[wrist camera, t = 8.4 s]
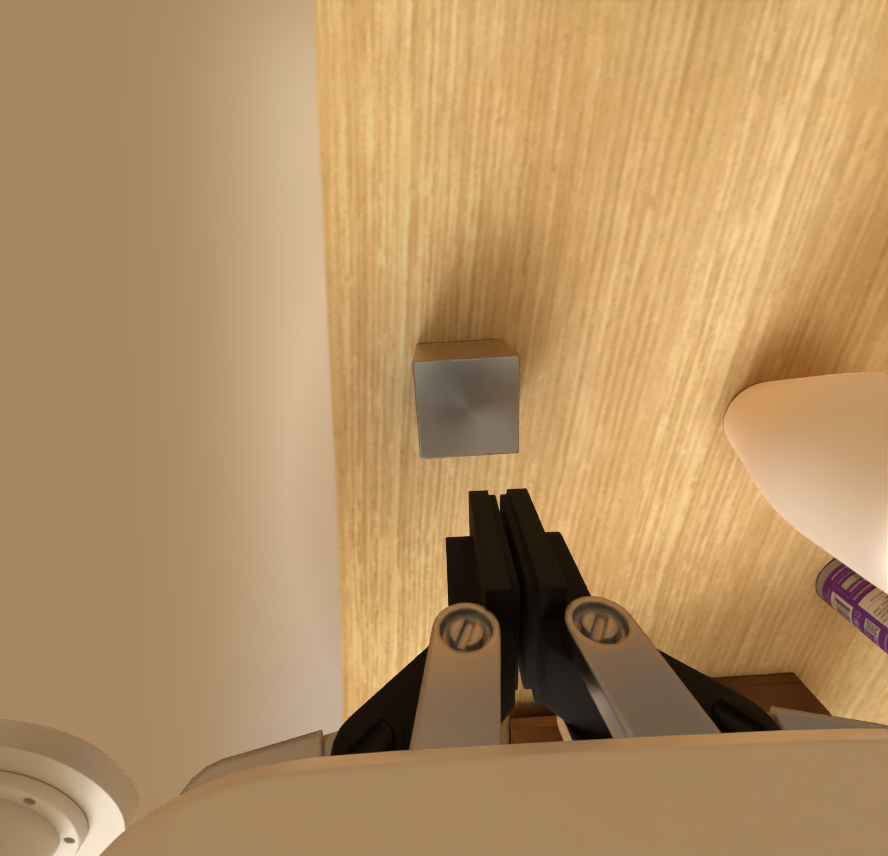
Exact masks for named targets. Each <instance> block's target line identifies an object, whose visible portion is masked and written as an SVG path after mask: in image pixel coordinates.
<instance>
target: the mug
mask: <svg viewBox="0 0 888 856" xmlns="http://www.w3.org/2000/svg"><path fill="white" fill-rule="evenodd" d="M724 432H725V435H726V437H727V439H728V440H729V442H730V444H731V445H732V447H733V449H734V450H735V452H736V454H737V455H738V457H739V459H740V460H741V462H742V464H743V465H744V467H745V469H746V470H747V472H748V474H749V475H750V477H751V479H752V480H753V482H754V483H755V485H756V487H757V488H758V490H759V491H760V492H761V494H762V495H763V496H764V498H765V499H766V500H767V502H768V503H769V504H770V505H771V506H772V507H773V508H774V510H775V511H776V512H777V513H778V514H779V515H780V516H781V517H782V518H783V519H785V520H786V521H787V522H788V523H789V524H790V525H791V526H793V527H794V528H795V529H796V530H798V531H799V532H800V533H801V534H803V535H804V536H805V537H807V538H808V539H810V540H811V541H812V542H814V543H815V544H816V545H818V546H819V547H821V548H822V549H824V550H825V551H826V552H828V553H829V554H831V555H832V556H833V557H835V558H836V559H838V560H839V561H840V562H842V563H843V564H845V565H846V566H848V567H849V568H850V569H852V570H853V571H855V572H856V573H857V574H859V575H860V576H862V577H863V578H864V579H866V580H867V581H869V582H870V583H872V584H873V585H875V586H876V587H877V588H879V589H880V590H882V591H884V592H885V593H887V594H888V372H854V373H840V374H830V375H821V376H812V377H803V378H794V379H785V380H776V381H768V382H762V383H758V384H755V385H753V386H750V387H749V388H747V389H745V390H744V391H742V392H741V393H740V394H739V395H738V396H737V397H736V398H735V399H734V400H733V401H732V402H731V404H730V405H729V407H728V409H727V411H726V414H725V417H724Z"/></svg>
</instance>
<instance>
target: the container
mask: <svg viewBox="0 0 888 856" xmlns="http://www.w3.org/2000/svg"><path fill="white" fill-rule="evenodd" d="M816 589H817V593H818V595H819V596H820V597H821V598H822V599H823V600H824V601H826V602H827V603H828V604H829V605H830V606H831V607H832V608H834V609H835V610H836V611H837V612H838V613H840V614H841V615H842V616H843V617H844V618H846V619H847V620H848V621H849V622H850V623H852V624H853V625H854V626H855V627H856V628H857V629H859V630H860V631H861V632H862V633H863V634H865V635H866V636H867V637H868V638H869V639H871V640H872V641H873V642H874V643H875V644H877V645H878V646H879V647H880V648H881V649H882V650H884V651H885V652H886V653H887V654H888V594H887V593H885V592H884V591H882V590H880V589H879V588H877V587H876V586H875V585H873V584H872V583H870V582H869V581H867V580H866V579H864V578H863V577H862V576H860V575H859V574H857V573H856V572H855V571H853V570H852V569H850V568H849V567H848V566H846V565H845V564H843V563H842V562H840V561H839V560H838V559H835V560H833V561H832V562H831V563H829V564H828V565H827V566H826V567H825V568H824V569H823V571H822V572H821V573H820V575H819V577H818V579H817V583H816Z"/></svg>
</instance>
